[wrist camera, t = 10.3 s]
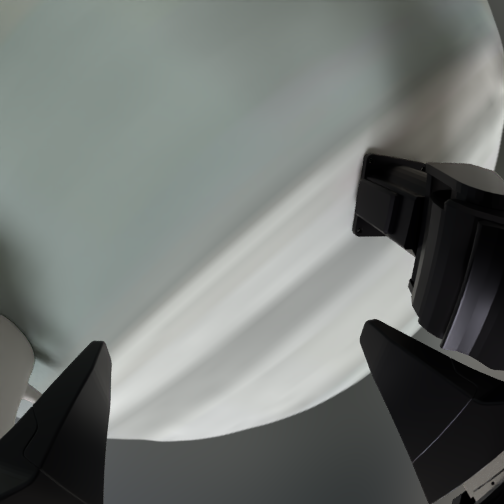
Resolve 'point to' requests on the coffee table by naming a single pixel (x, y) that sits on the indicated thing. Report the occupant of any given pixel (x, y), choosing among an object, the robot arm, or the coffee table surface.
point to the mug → (14, 373)
